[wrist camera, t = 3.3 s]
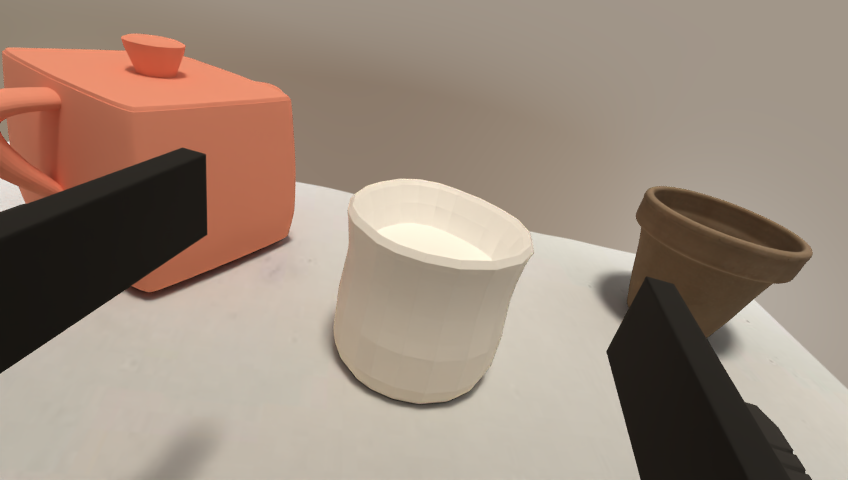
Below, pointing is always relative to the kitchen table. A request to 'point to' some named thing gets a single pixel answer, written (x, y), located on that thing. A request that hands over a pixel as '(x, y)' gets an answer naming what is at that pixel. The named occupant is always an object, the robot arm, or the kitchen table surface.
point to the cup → (425, 288)
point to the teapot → (153, 137)
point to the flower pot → (712, 252)
